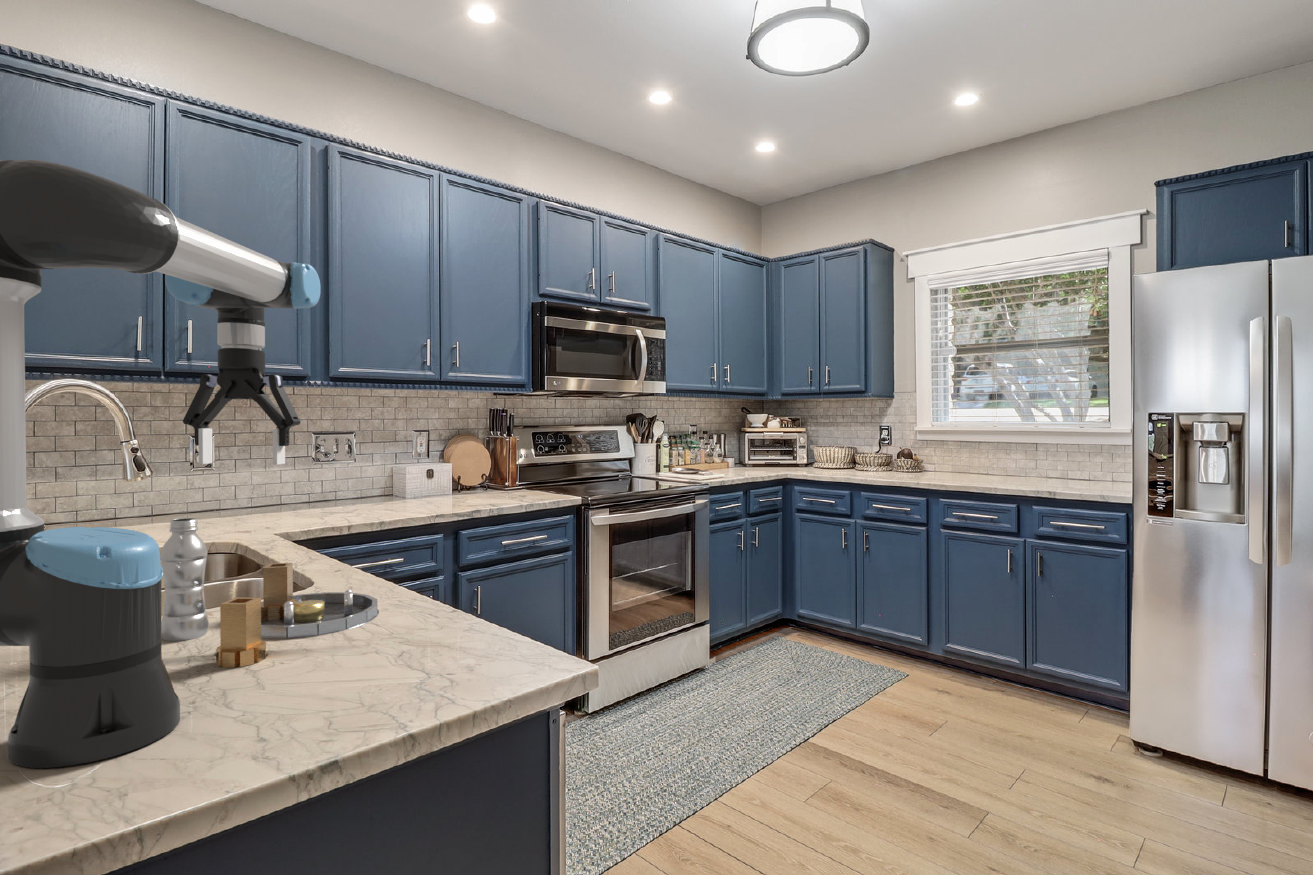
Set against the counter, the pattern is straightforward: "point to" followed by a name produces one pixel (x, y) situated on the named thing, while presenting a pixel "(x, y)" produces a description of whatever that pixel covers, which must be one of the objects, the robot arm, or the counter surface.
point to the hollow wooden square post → (240, 633)
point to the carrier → (321, 615)
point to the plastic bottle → (184, 582)
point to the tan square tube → (276, 590)
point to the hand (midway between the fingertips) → (242, 464)
